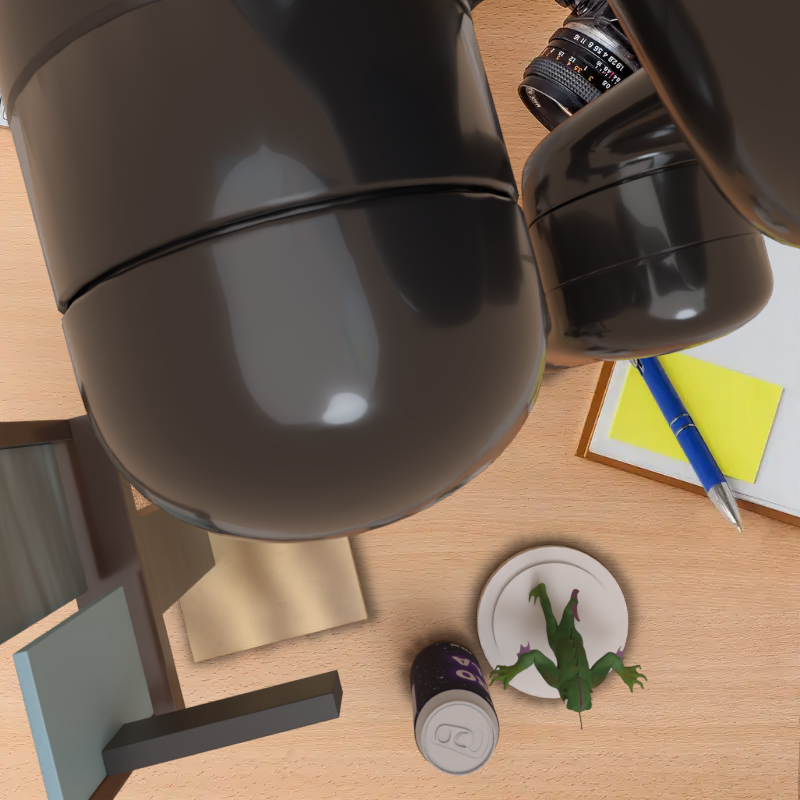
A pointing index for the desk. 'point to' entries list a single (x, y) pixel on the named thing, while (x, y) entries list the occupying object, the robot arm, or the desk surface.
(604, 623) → the monster figurine
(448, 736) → the beverage can
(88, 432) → the window frame
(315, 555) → the light brown wooden board
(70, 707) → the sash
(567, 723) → the desk surface
